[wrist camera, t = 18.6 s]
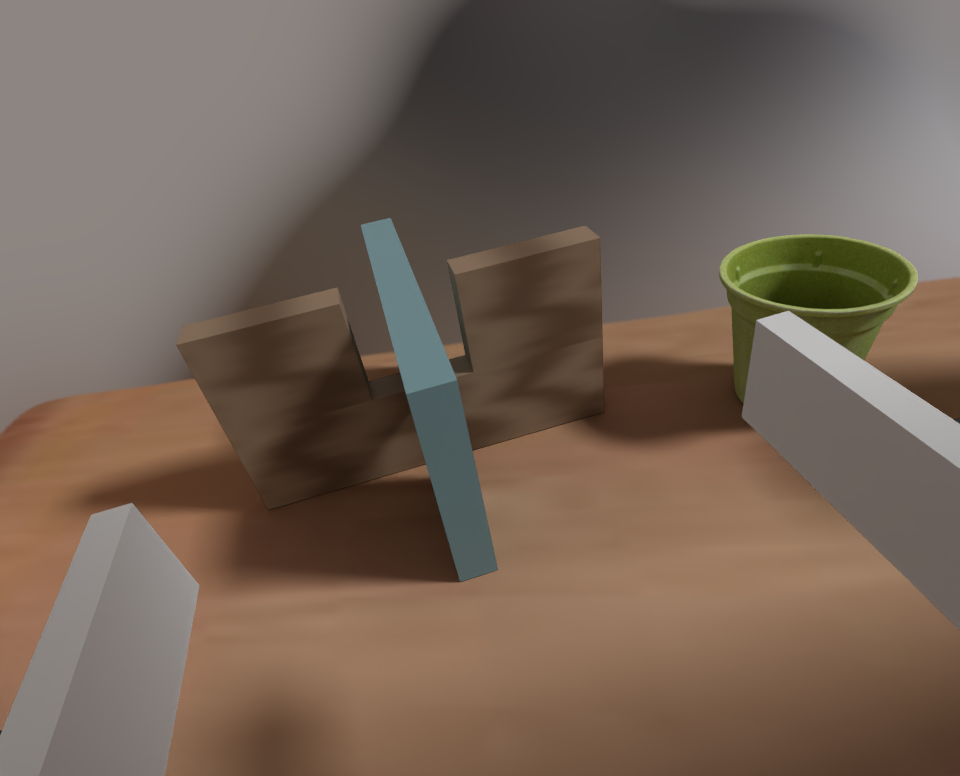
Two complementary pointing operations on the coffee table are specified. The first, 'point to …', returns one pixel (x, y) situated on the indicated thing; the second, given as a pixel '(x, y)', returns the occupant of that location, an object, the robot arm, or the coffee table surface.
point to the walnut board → (383, 402)
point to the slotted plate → (432, 403)
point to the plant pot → (813, 289)
